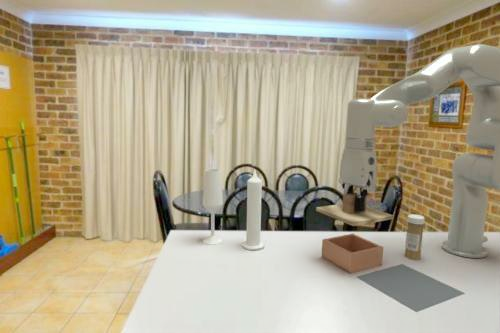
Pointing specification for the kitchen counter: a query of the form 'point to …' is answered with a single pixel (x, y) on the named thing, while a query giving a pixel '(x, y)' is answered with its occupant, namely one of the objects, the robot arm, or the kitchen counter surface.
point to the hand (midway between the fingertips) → (354, 208)
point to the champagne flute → (212, 200)
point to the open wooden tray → (352, 253)
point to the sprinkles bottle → (414, 237)
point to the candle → (253, 214)
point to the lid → (354, 212)
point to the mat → (410, 287)
